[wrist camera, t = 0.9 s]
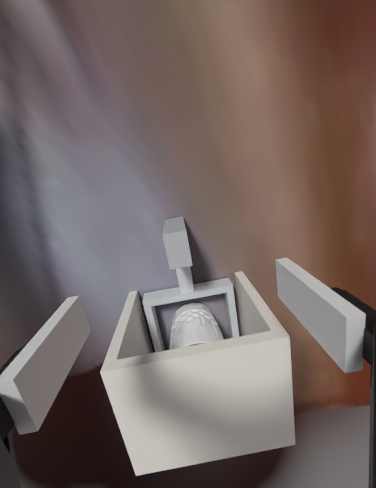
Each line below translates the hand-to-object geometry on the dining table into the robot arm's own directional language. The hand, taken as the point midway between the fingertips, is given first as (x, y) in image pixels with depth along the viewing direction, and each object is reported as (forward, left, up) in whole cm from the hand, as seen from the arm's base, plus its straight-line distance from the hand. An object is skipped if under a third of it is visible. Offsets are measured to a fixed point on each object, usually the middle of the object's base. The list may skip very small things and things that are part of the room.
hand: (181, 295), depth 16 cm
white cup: (+15, 0, -19) cm, 24 cm away
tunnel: (+15, 0, -19) cm, 24 cm away
